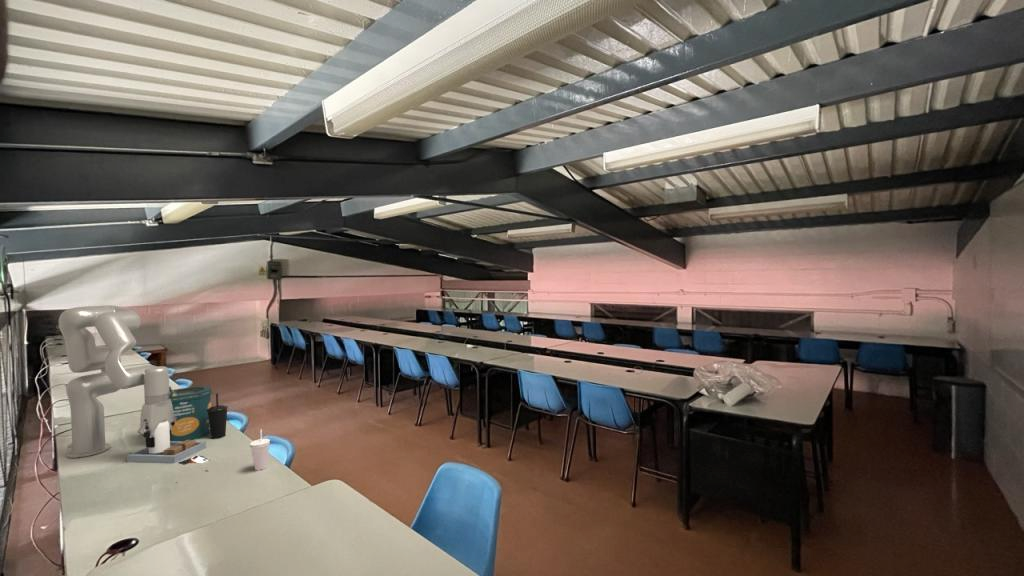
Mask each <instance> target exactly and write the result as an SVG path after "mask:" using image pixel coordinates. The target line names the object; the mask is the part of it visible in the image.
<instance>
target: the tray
mask: <svg viewBox="0 0 1024 576" xmlns="http://www.w3.org/2000/svg"><path fill="white" fill-rule="evenodd" d="M181 442H182V441H170V447H171V446H178V443H181ZM206 443H207V442H206V441H196V446H193V447H191V448H189V449H187V450H185V451H183V452H180V453H178V454H176V455H164V452H163V453H159V454H150V453H149V448H148V447H146V446H145V447H144V448H142V449H138V450H137V451H134V452H131V453H130V454H126V462H127V463H148V464H149V463H151V464H152V463H153V464H156V463H157V464H158V463H159V464H176V463H178V462H181V461H183V460H185V459H186V458H188V457H192V455H193V456H194V455H196V454H197V453H199V452H201V451H203V450H206V449H207V444H206Z"/></svg>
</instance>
